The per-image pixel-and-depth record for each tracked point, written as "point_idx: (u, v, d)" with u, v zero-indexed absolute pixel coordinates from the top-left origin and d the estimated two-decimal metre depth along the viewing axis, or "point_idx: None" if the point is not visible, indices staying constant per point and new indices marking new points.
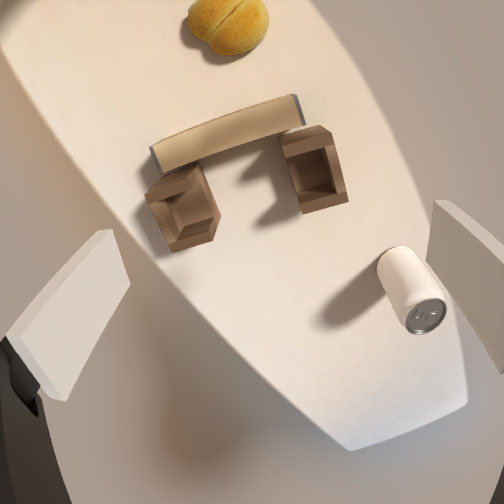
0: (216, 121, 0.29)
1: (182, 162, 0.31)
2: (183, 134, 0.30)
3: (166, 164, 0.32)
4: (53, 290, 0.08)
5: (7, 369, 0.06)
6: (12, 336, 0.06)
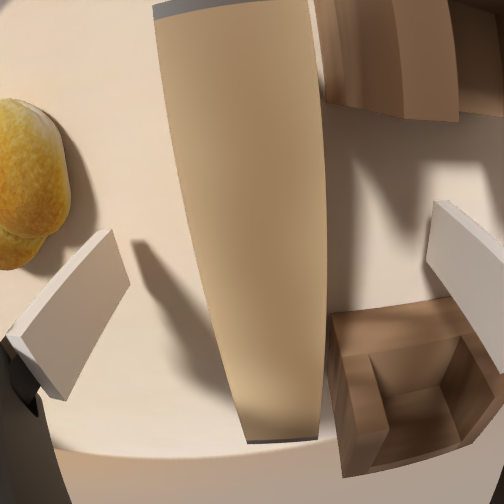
0: (216, 323, 0.09)
1: (313, 410, 0.11)
2: (237, 397, 0.10)
3: (302, 430, 0.12)
4: (53, 290, 0.08)
5: (7, 369, 0.06)
6: (12, 336, 0.06)
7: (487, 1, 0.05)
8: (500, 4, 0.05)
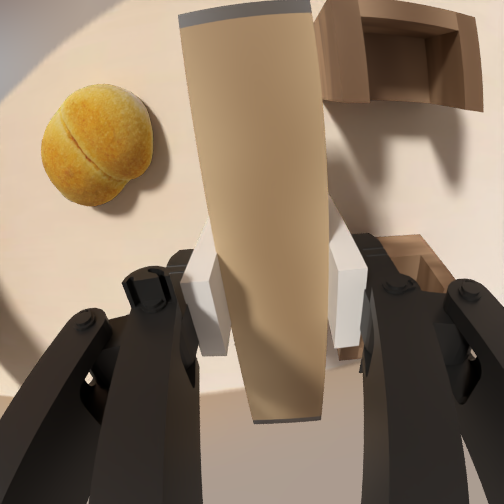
0: (229, 298, 0.10)
1: (317, 387, 0.12)
2: (246, 373, 0.11)
3: (306, 409, 0.13)
4: None
5: (178, 331, 0.07)
6: (192, 283, 0.08)
7: (412, 33, 0.12)
8: (421, 34, 0.11)
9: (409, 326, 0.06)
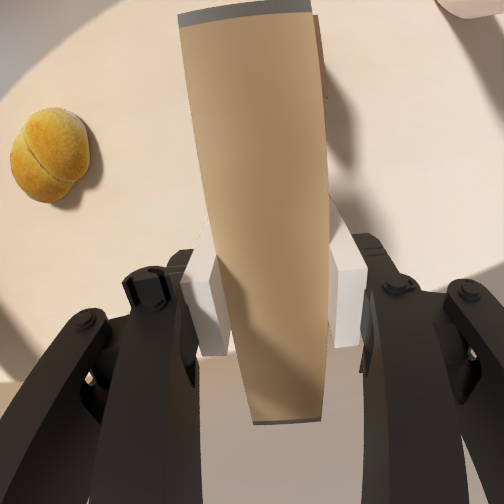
0: (229, 300, 0.10)
1: (317, 389, 0.12)
2: (245, 374, 0.11)
3: (306, 410, 0.13)
4: None
5: (179, 331, 0.07)
6: (192, 283, 0.08)
7: None
8: None
9: (409, 326, 0.06)
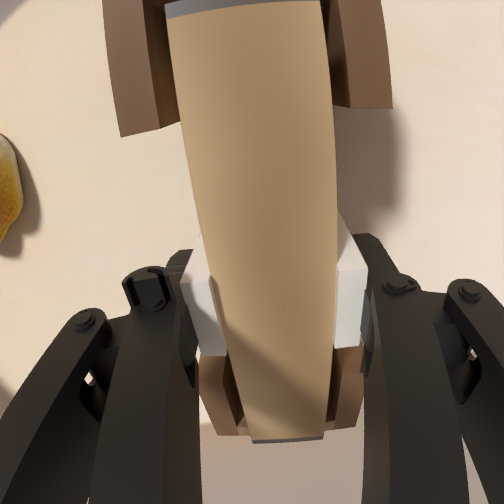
0: (226, 323, 0.09)
1: (319, 409, 0.11)
2: (244, 396, 0.10)
3: (308, 430, 0.12)
4: None
5: (178, 331, 0.07)
6: (192, 283, 0.08)
7: None
8: None
9: (409, 326, 0.06)
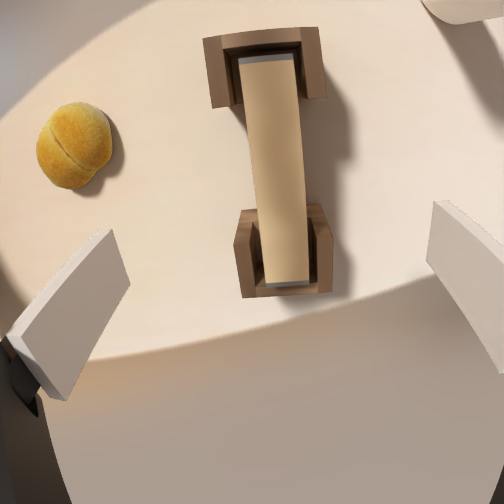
0: (256, 187, 0.20)
1: (304, 251, 0.22)
2: (263, 238, 0.22)
3: (299, 272, 0.23)
4: (53, 290, 0.08)
5: (7, 369, 0.06)
6: (12, 336, 0.06)
7: (280, 48, 0.19)
8: (286, 47, 0.19)
9: None
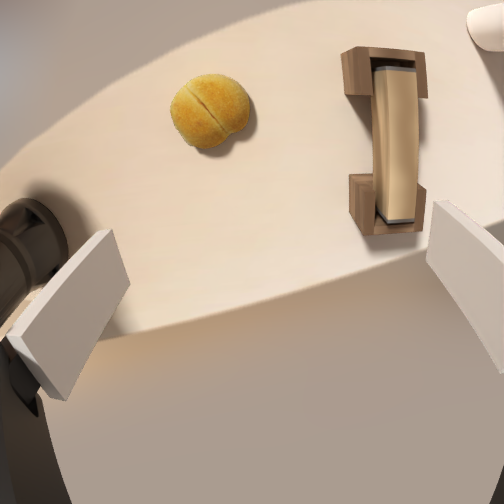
0: (391, 150, 0.27)
1: (414, 196, 0.29)
2: (391, 186, 0.29)
3: (409, 212, 0.30)
4: (53, 290, 0.08)
5: (7, 369, 0.06)
6: (12, 336, 0.06)
7: (393, 61, 0.26)
8: (398, 61, 0.26)
9: None
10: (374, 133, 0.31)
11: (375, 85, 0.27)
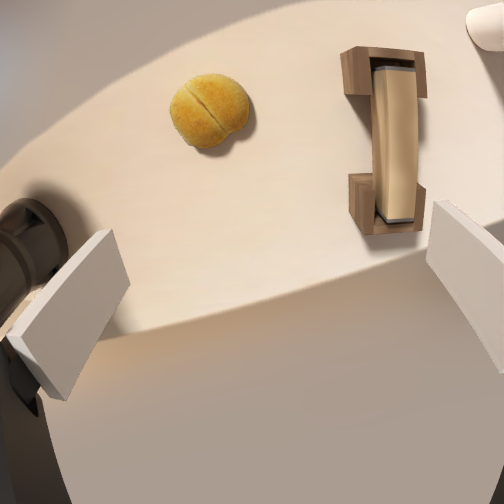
0: (390, 150, 0.27)
1: (413, 196, 0.29)
2: (390, 185, 0.29)
3: (408, 211, 0.30)
4: (53, 290, 0.08)
5: (7, 369, 0.06)
6: (12, 336, 0.06)
7: (393, 60, 0.26)
8: (397, 61, 0.26)
9: None
10: (374, 133, 0.31)
11: (375, 85, 0.27)
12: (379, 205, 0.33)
